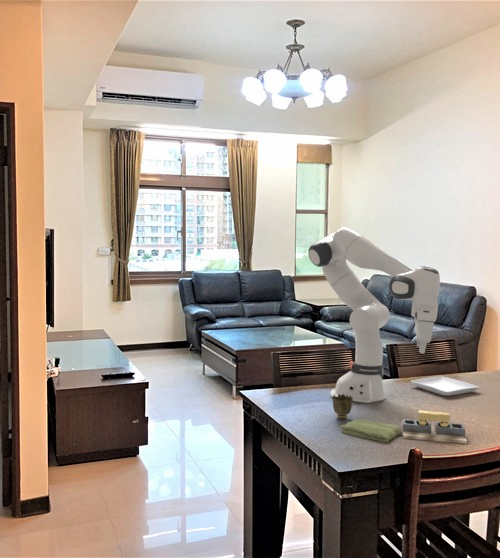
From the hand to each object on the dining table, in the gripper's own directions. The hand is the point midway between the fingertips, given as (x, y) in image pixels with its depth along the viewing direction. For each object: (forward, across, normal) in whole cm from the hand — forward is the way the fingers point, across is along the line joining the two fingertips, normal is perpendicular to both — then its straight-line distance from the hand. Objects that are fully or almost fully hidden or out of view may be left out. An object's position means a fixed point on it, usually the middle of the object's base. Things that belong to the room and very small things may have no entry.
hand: (420, 350), depth 204 cm
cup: (+28, +4, -26) cm, 38 cm away
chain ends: (+26, +13, +5) cm, 29 cm away
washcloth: (+27, +17, -16) cm, 36 cm away
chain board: (+26, +13, +5) cm, 29 cm away
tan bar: (+25, +13, +5) cm, 29 cm away
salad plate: (+27, -48, +17) cm, 57 cm away
